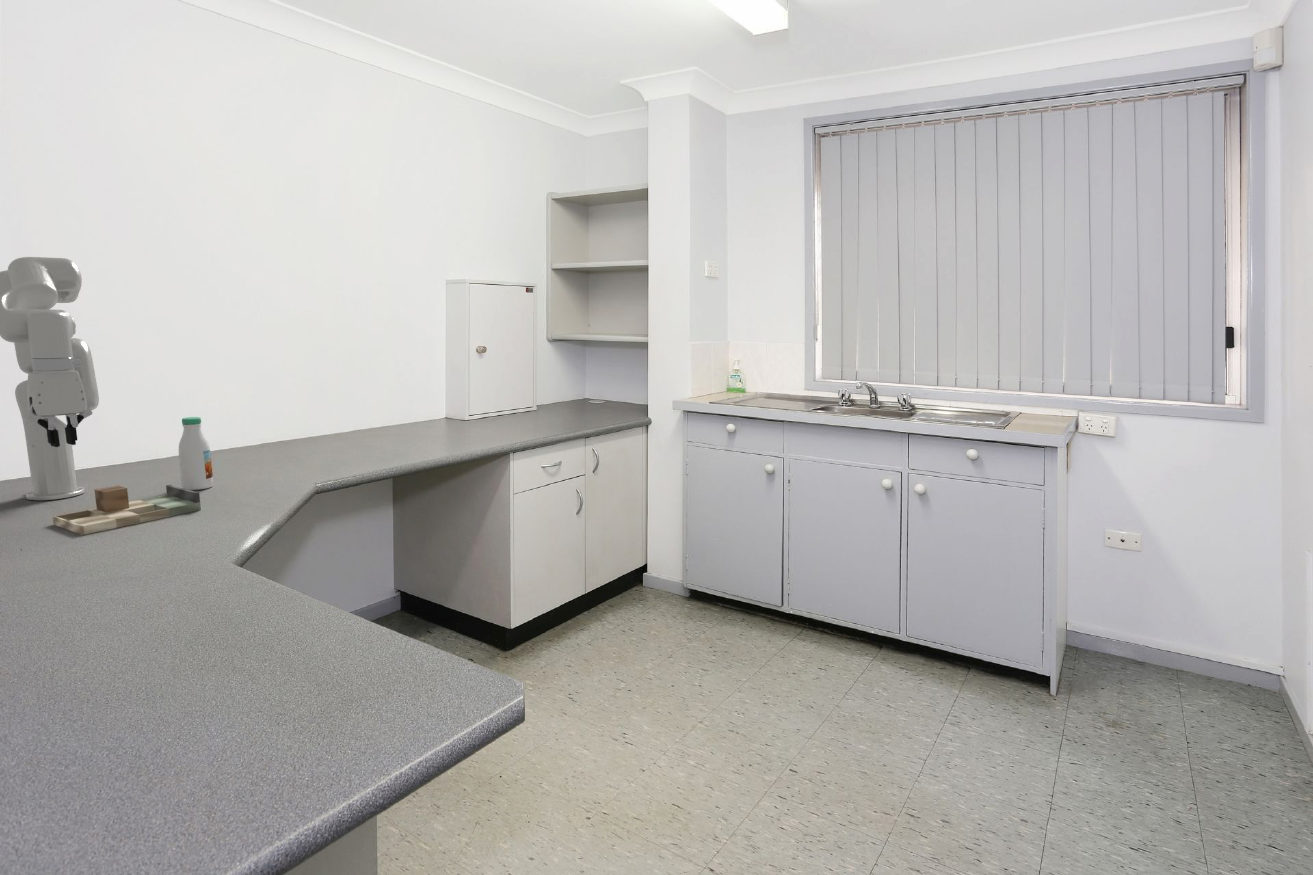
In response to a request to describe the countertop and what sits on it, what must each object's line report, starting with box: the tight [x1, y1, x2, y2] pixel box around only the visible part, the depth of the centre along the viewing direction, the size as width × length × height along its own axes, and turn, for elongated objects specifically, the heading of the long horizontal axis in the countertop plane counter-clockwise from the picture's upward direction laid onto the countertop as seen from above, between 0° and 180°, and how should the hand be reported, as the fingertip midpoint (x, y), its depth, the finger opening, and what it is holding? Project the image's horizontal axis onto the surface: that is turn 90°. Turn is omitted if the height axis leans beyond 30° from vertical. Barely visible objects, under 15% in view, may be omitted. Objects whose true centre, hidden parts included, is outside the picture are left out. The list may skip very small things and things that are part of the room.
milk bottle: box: [178, 416, 214, 491], centre depth 217 cm, size 8×8×20 cm
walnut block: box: [94, 485, 130, 512], centre depth 188 cm, size 5×5×5 cm
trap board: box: [52, 484, 202, 536], centre depth 188 cm, size 15×26×4 cm, turn 148°
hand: (63, 444), depth 179 cm, fingers open, 2 cm apart
